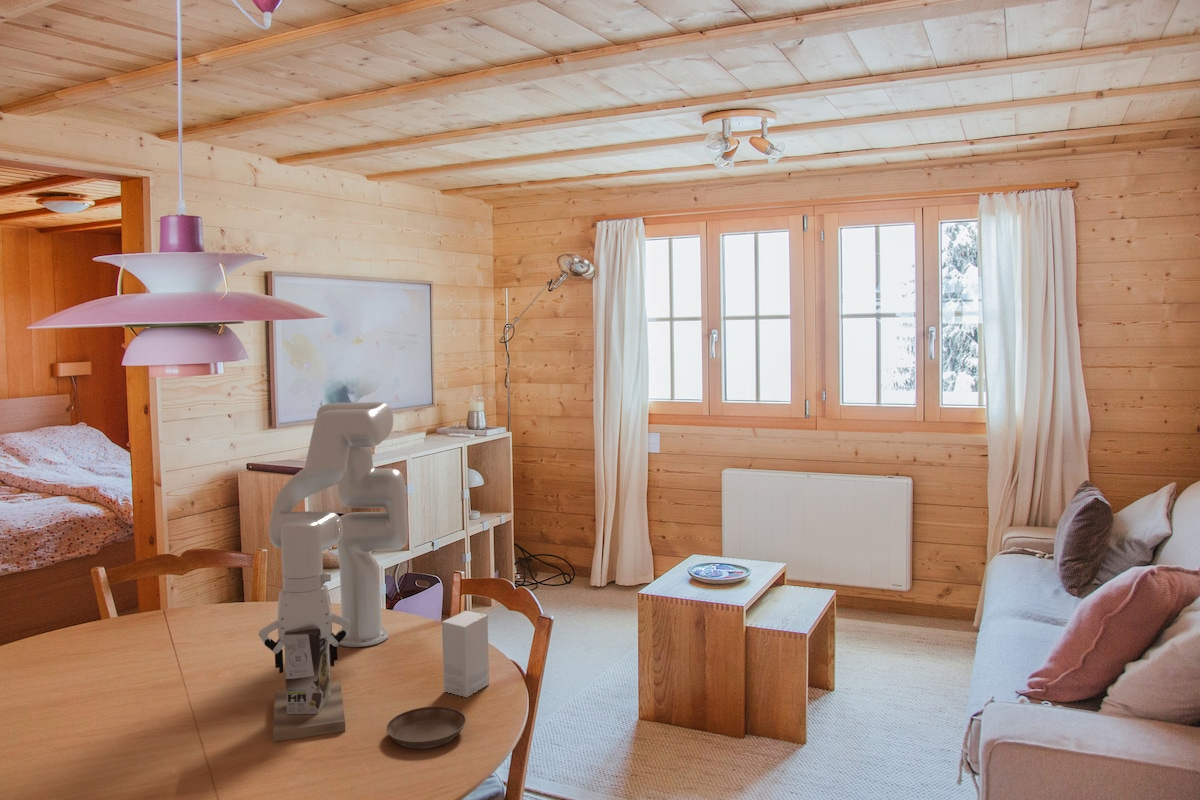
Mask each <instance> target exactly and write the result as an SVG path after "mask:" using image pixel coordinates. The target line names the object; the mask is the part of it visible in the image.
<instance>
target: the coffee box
mask: <svg viewBox="0 0 1200 800" xmlns="http://www.w3.org/2000/svg"><path fill="white" fill-rule="evenodd" d="M329 644H330V642H329V641H328V640H327V639H325V638H324V639H322V638H321V632H320V629H311V630H303V631H297V632H290V633H285V634H284V646H283V647H284V665H285V666H284V668H285V669H284V671H285V690H286V699H287V714H318V713H319V712H320V710H321V709H322V708H323V706H324V705H325V703H326V702H327V700H328V699H329V697H330V696H331V685H330V684H331V669H330V668H331V665H330V645H329Z"/></svg>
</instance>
